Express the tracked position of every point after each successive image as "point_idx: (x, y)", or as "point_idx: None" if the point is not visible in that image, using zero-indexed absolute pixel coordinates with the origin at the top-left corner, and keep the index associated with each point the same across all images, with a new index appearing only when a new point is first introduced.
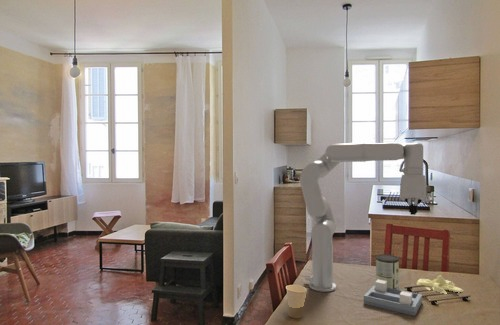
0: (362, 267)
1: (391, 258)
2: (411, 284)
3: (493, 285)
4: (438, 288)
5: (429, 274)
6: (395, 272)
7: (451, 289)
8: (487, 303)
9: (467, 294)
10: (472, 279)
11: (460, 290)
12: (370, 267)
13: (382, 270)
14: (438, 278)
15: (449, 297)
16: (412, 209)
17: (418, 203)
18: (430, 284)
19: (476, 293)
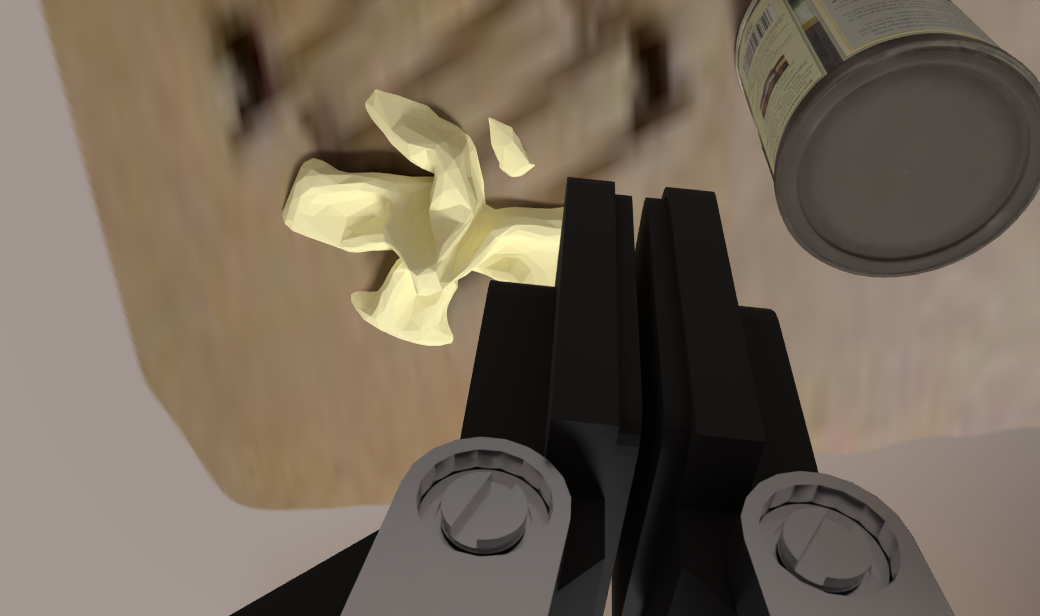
0: (1025, 388)
1: (862, 156)
2: (636, 186)
3: (155, 389)
4: (430, 137)
5: None
6: (792, 44)
7: (347, 174)
8: (100, 49)
9: (249, 164)
10: (278, 438)
11: (294, 193)
12: (956, 410)
13: (939, 3)
14: (435, 252)
15: (344, 38)
16: (651, 326)
17: (329, 573)
18: (499, 219)
19: (205, 210)
